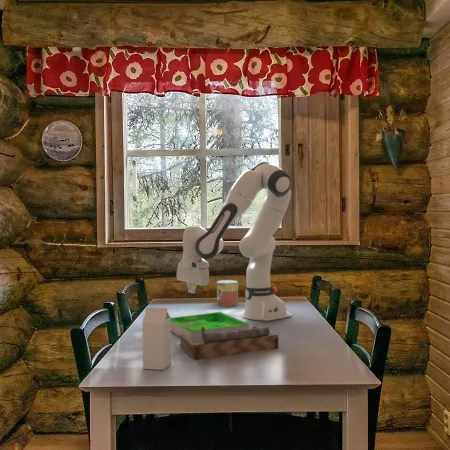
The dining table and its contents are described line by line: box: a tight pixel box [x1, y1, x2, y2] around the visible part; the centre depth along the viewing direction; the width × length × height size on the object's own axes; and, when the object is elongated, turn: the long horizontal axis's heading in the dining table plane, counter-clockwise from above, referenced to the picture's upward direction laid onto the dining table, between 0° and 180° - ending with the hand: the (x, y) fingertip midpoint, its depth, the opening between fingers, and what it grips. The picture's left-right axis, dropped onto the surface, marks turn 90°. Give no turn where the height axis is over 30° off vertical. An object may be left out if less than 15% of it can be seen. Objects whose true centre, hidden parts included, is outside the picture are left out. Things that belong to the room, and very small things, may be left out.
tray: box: [170, 311, 250, 343], centre depth 190 cm, size 25×25×5 cm
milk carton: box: [141, 306, 172, 371], centre depth 148 cm, size 7×7×19 cm
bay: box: [179, 325, 279, 361], centre depth 168 cm, size 32×18×10 cm, turn 112°
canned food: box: [216, 279, 239, 307], centre depth 245 cm, size 11×11×12 cm
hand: (191, 292), depth 206 cm, fingers closed
